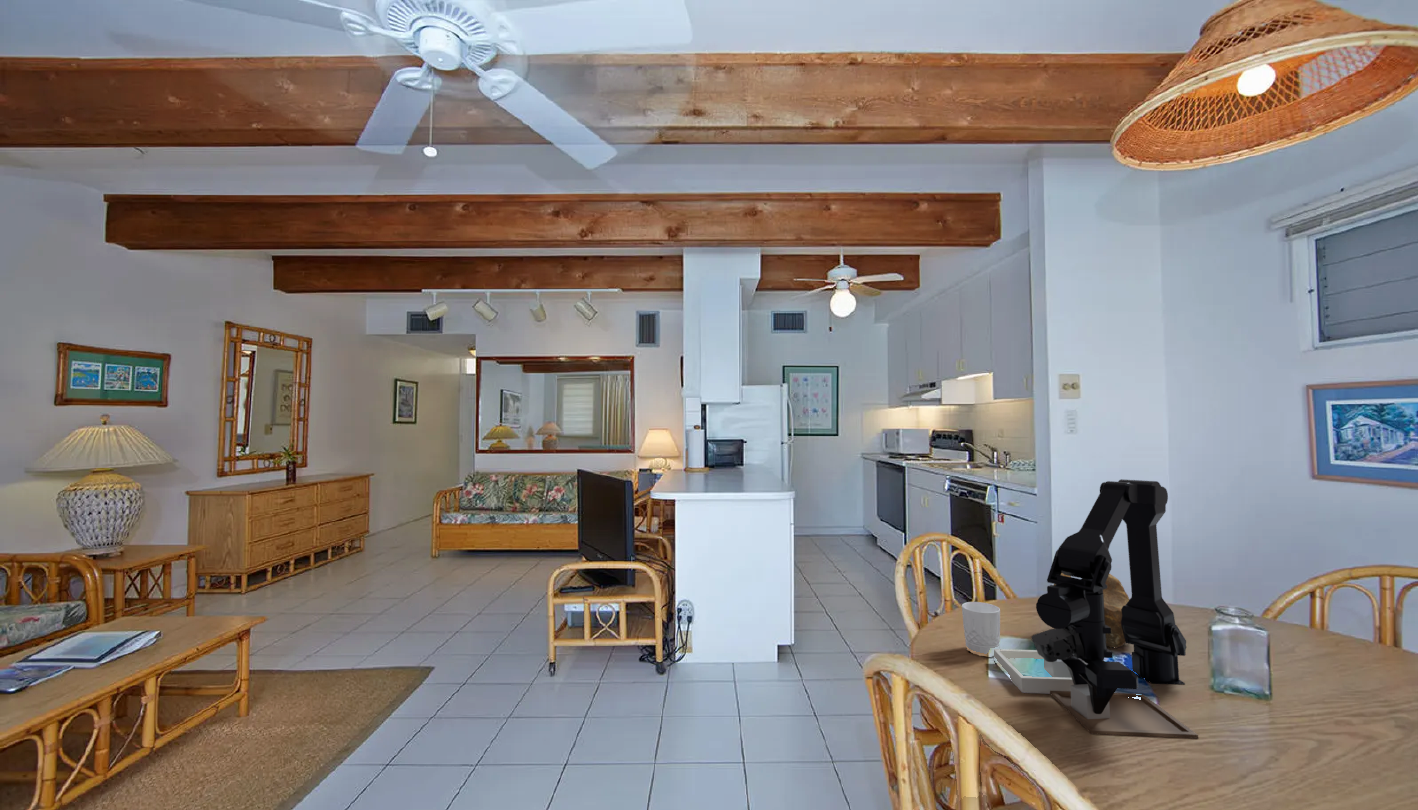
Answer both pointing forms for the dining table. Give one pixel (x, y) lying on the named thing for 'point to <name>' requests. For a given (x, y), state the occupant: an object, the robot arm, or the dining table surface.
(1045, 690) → the cream dish
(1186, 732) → the walnut tray
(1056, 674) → the grey block
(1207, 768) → the dining table surface
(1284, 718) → the dining table surface
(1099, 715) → the small grey cuboid
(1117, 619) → the rough brown rock
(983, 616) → the white cup
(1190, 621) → the dining table surface
